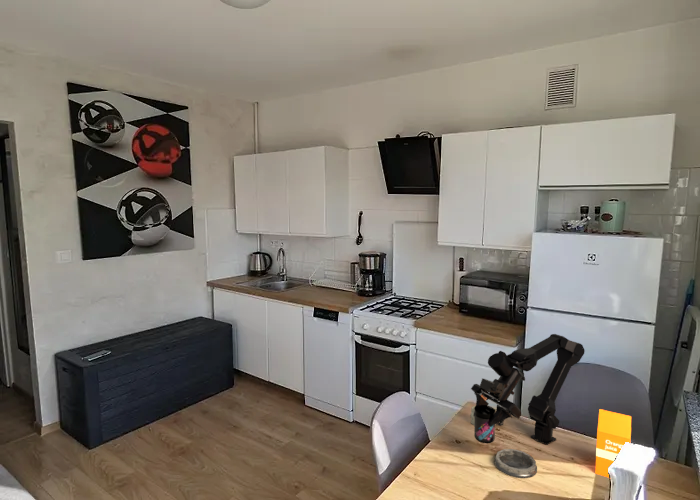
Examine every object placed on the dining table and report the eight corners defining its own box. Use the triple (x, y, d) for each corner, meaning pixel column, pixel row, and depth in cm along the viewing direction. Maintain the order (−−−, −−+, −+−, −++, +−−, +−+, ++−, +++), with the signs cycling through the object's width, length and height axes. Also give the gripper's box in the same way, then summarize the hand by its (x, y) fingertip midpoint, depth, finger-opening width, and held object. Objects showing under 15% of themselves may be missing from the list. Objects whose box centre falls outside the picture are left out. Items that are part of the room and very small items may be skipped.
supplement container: (471, 440, 143) (471, 410, 142) (478, 431, 148) (478, 403, 147) (490, 446, 139) (491, 416, 138) (497, 437, 144) (498, 408, 143)
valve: (472, 427, 164) (503, 428, 163) (472, 411, 164) (504, 412, 163) (468, 419, 171) (499, 420, 170) (469, 403, 170) (499, 404, 169)
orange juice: (597, 462, 141) (600, 404, 139) (629, 471, 136) (632, 411, 134) (594, 473, 135) (597, 413, 133) (627, 484, 130) (631, 421, 128)
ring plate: (511, 450, 148) (511, 444, 148) (545, 469, 137) (545, 462, 137) (486, 462, 141) (486, 455, 141) (520, 483, 130) (520, 476, 130)
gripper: (475, 361, 151) (450, 397, 148) (515, 380, 134) (488, 421, 131) (491, 378, 155) (468, 414, 152) (533, 398, 138) (507, 439, 135)
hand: (481, 421), depth 142 cm, fingers closed on supplement container, 7 cm apart
